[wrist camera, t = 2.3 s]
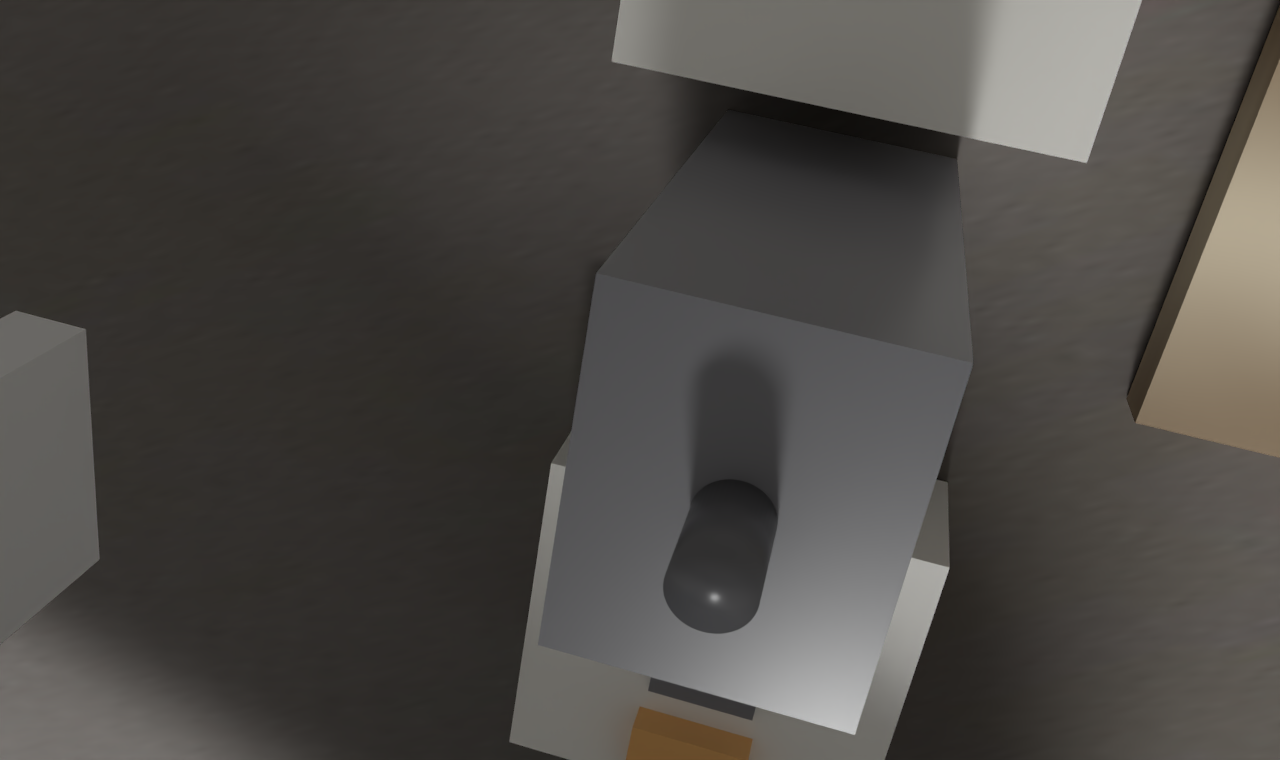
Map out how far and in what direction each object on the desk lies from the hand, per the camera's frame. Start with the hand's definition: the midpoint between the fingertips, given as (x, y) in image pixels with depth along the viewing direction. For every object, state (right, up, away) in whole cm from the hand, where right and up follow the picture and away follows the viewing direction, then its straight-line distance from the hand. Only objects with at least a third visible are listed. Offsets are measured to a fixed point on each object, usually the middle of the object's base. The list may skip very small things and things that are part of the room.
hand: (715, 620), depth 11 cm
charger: (+2, +4, +10) cm, 11 cm away
